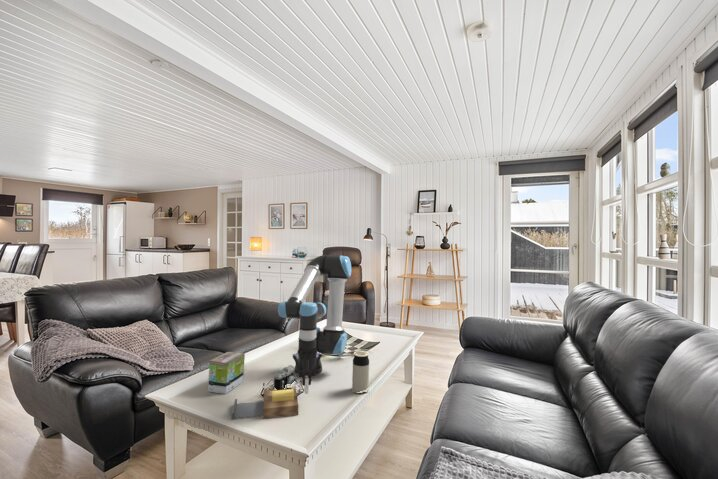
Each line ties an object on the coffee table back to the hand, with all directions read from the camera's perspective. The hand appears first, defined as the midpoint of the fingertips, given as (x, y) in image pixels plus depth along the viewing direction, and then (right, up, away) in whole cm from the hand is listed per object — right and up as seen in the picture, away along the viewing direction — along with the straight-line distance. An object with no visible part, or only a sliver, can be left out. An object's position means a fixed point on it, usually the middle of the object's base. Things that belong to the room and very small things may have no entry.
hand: (306, 392), depth 145 cm
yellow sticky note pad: (-10, -1, -3) cm, 10 cm away
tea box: (-41, -5, +16) cm, 45 cm away
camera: (-12, -6, +15) cm, 20 cm away
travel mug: (+24, -6, +15) cm, 29 cm away
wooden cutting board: (-11, -5, -3) cm, 12 cm away
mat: (-23, -5, -6) cm, 25 cm away
